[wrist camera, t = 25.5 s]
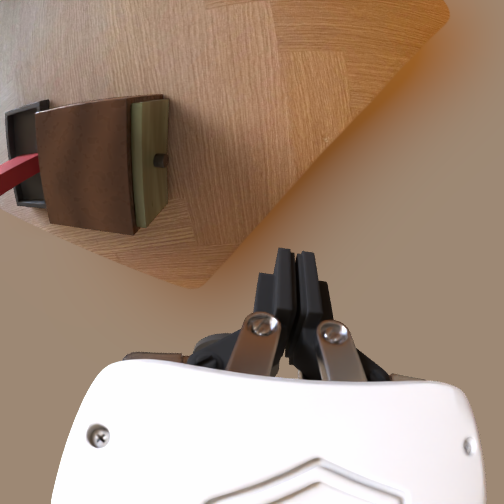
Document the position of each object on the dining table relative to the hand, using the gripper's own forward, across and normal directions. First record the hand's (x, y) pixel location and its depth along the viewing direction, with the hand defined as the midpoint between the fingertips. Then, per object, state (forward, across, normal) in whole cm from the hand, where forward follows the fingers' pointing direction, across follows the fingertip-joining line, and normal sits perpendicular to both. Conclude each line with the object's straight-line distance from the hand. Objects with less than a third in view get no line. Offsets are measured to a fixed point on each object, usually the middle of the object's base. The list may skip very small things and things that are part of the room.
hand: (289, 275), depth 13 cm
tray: (+21, +40, 0) cm, 46 cm away
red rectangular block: (+20, +40, +1) cm, 45 cm away
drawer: (+20, +20, 0) cm, 28 cm away
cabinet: (+21, +22, 0) cm, 30 cm away
